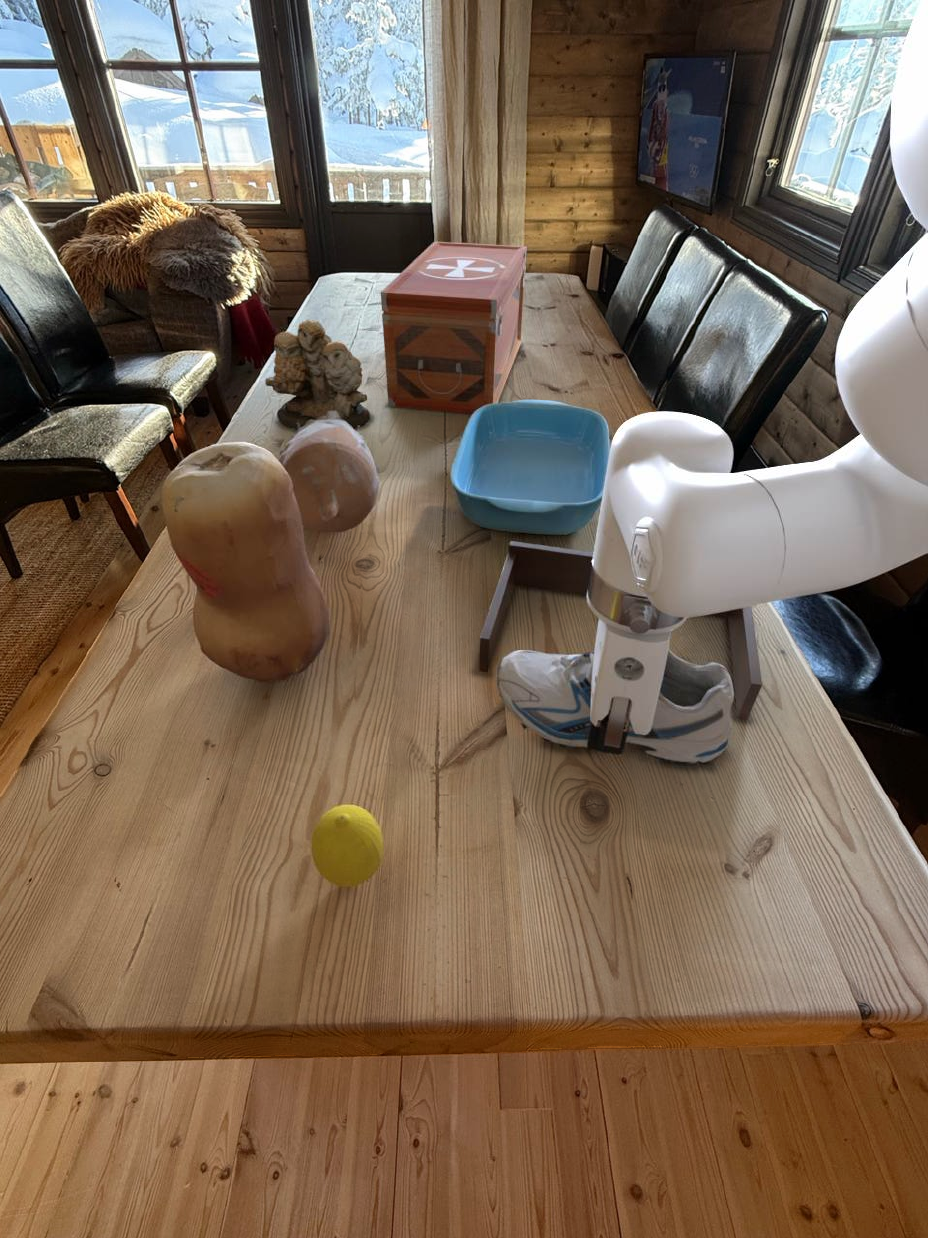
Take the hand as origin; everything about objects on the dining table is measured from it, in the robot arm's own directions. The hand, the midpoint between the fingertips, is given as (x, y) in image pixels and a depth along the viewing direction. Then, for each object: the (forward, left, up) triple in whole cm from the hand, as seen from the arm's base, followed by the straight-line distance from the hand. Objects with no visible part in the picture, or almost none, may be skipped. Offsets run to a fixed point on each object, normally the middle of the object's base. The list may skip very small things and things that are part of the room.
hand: (604, 745), depth 60 cm
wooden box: (+95, +37, -3) cm, 101 cm away
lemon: (-15, +19, -4) cm, 25 cm away
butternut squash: (+6, +36, -4) cm, 37 cm away
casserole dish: (+51, +15, -4) cm, 53 cm away
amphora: (+38, +42, -4) cm, 56 cm away
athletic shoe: (+6, 0, -4) cm, 7 cm away
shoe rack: (+18, 0, -3) cm, 18 cm away
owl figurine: (+66, +56, -4) cm, 86 cm away
